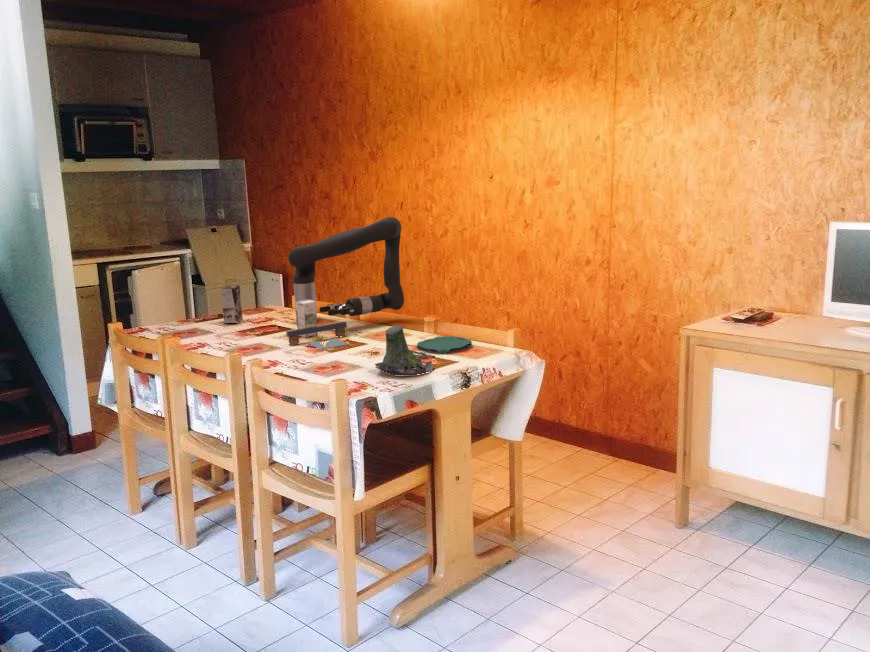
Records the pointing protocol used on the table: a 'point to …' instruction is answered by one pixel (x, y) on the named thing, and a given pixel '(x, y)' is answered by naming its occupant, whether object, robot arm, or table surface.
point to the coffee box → (231, 304)
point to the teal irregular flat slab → (441, 345)
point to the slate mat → (329, 343)
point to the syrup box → (306, 315)
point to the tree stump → (401, 356)
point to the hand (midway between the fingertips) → (324, 311)
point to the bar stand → (338, 332)
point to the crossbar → (316, 329)
